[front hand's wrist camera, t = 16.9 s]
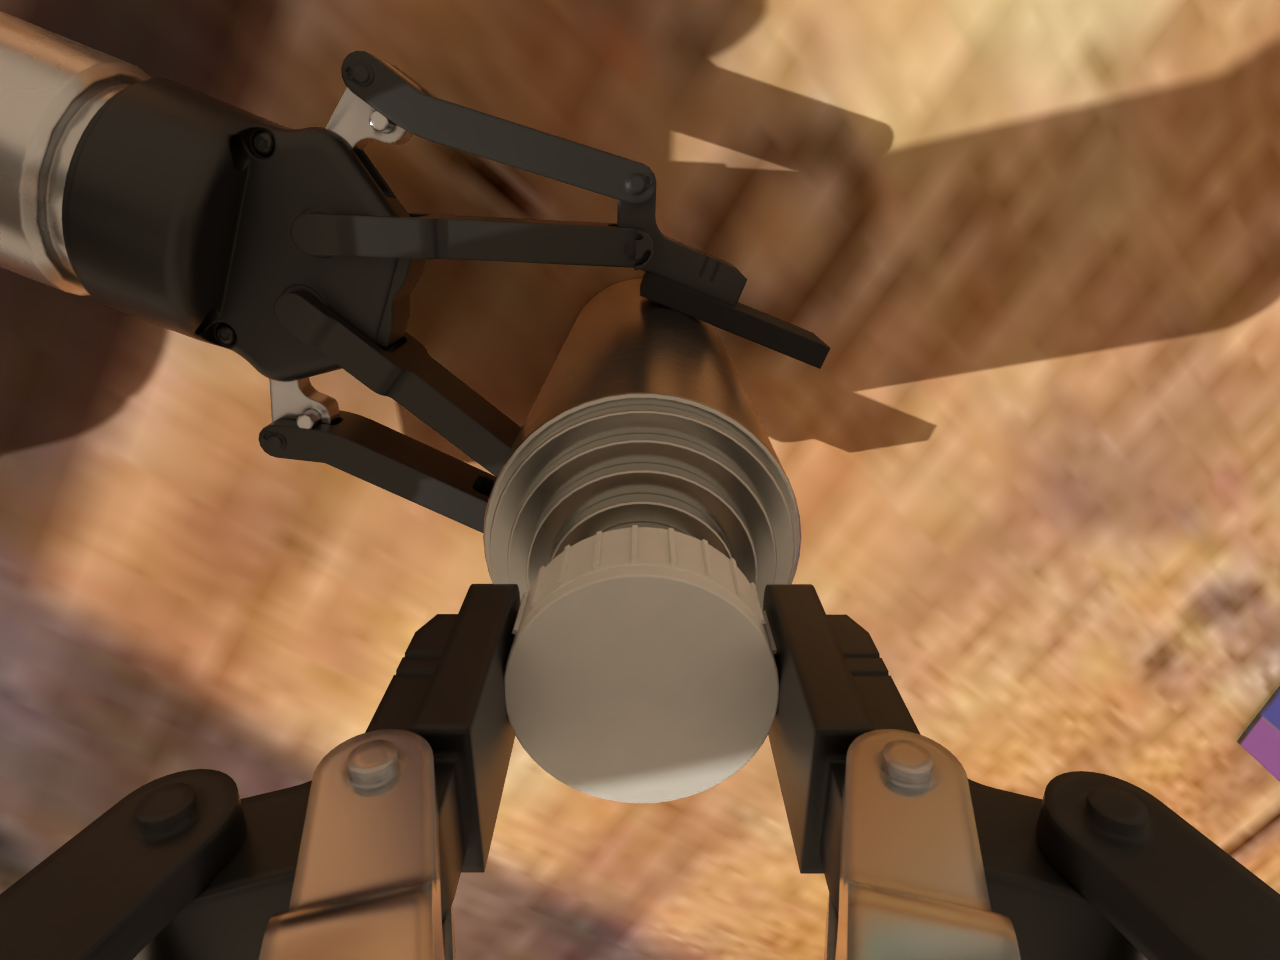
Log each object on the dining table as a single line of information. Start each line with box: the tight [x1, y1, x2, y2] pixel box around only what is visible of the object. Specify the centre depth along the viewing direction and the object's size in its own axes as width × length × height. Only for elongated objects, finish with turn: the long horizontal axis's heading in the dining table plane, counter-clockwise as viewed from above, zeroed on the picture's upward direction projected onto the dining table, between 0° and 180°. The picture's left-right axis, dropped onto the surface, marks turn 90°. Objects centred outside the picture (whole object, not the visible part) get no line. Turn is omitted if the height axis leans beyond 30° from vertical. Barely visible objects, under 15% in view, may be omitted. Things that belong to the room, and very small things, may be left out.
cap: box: [504, 525, 779, 803], centre depth 12 cm, size 4×4×2 cm
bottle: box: [483, 279, 801, 611], centre depth 22 cm, size 6×6×23 cm
